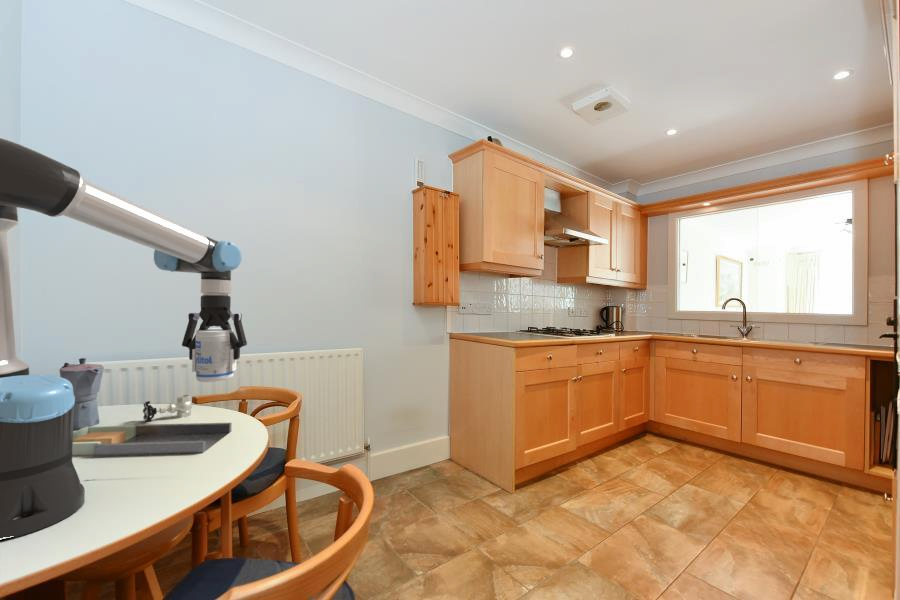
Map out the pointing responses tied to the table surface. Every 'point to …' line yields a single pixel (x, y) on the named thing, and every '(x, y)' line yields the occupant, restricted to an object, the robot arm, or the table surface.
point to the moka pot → (84, 391)
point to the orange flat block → (111, 437)
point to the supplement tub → (213, 355)
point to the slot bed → (167, 440)
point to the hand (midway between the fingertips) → (214, 370)
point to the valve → (169, 408)
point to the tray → (88, 447)
